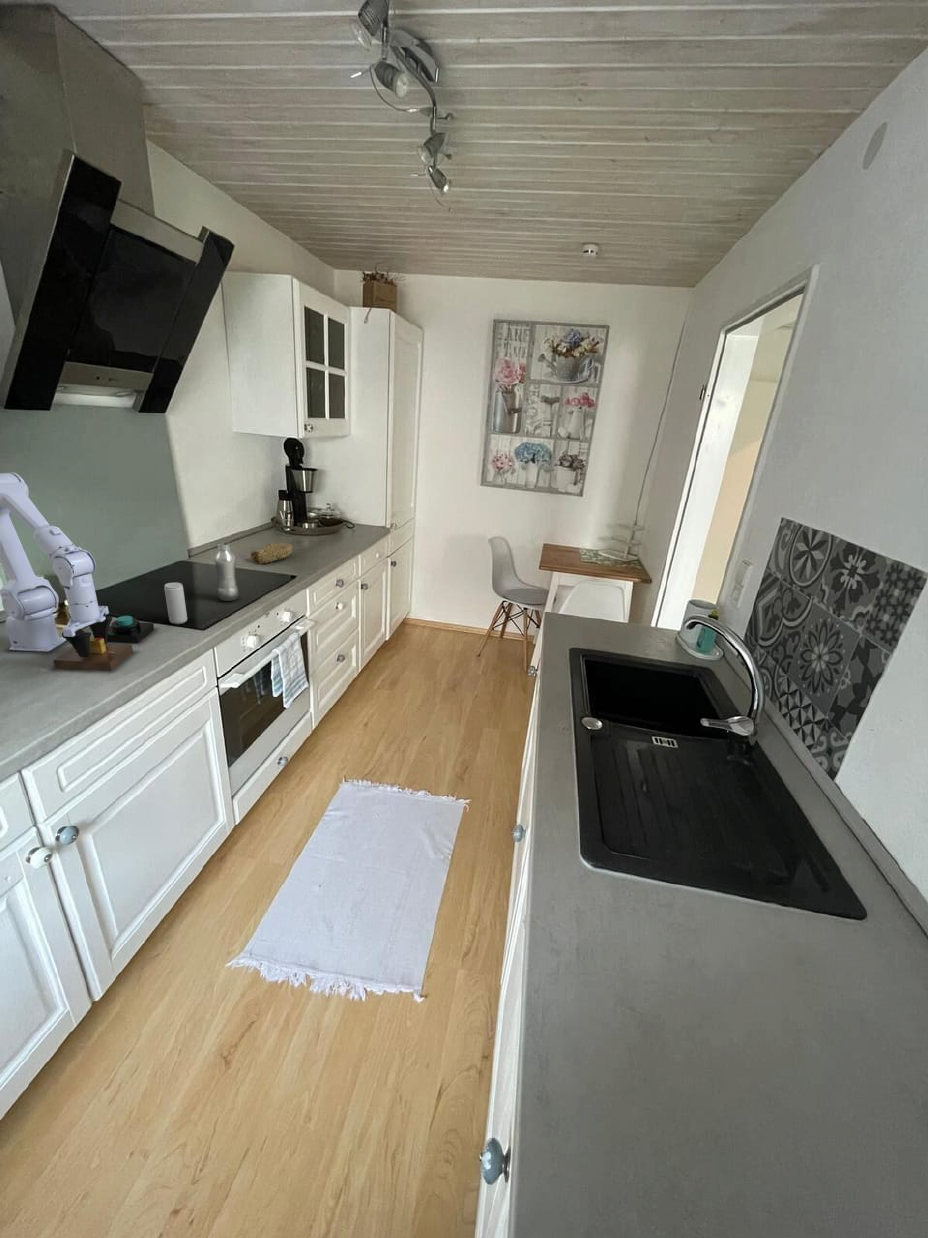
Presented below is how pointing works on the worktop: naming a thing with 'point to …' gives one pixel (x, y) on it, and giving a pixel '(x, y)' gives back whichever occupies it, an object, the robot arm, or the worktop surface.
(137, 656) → the worktop surface
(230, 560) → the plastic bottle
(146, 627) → the lock button box
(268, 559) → the tan oblong lump
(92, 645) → the thumbturn
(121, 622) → the lock button
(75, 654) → the plate
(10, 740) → the worktop surface
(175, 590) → the beverage can
